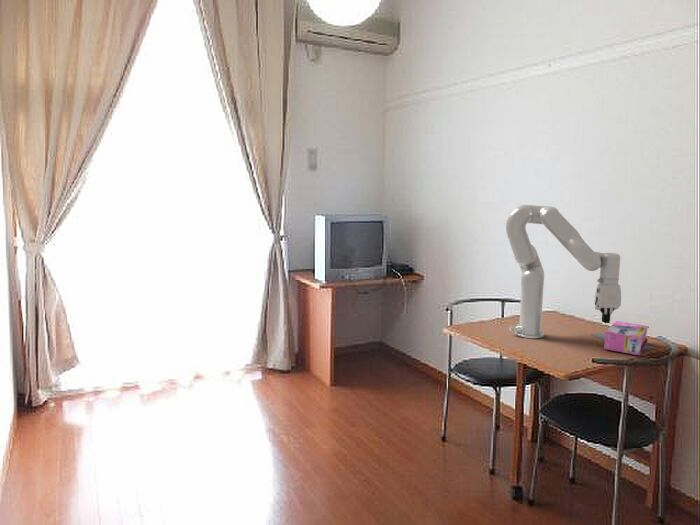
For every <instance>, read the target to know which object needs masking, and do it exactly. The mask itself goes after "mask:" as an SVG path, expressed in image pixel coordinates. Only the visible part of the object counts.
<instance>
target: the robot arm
mask: <svg viewBox="0 0 700 525" xmlns="http://www.w3.org/2000/svg"><path fill="white" fill-rule="evenodd" d="M505 222H506V223H505V231H506V235H507V238H508V241H509V245H510V247H511V250H512V253H513V256H514V260H515V261H516V263H517V264H518V265H519V268H520V271H521V273H522V274H521V278H520V281H521V283H520V304H519V305H520V307H519V308H520V309H519V323H517V324H516V325H515V326H509V328H508V330H509V331H510V332H515V335H516V336H519V337H521V338H524V339H541V338H544V337H545V332H543V331H542V320H543V319H542V318H543V316H542V314H543V299H544V298H543V297H544V286H545V285H544V284H545V271H544V268H543V265H542V262H541V260H540V257H539V254H538V251H537V249H536V247H535V246H534V245H533V244H531V241H530V239H529V235H528V233H527V229H526V227H527V224H536V225H543V226H544V227H545V228H546V229H547V230H548V231H549V232H550V233H551V235H552V236H554V237H555V239H557V241H558V242H559V243H560V244H561V246H563V247H564V248H565V249H566V250H567V251H568V252H569V253H570V254H571V256H572V257H573V258H574V259H576V260H577V262H578V263H579V264H580V265H581V266H582V268H584V269H585V270H587V271H589V272H594V271H598V270H599V269H600V270H599V278H598V279H597V287H596V290H595V295H594V310H597V311H600V313H601V322H602V323H605V324H610V323H611V322H610V321H611V315H612V314H613V312H614V311H617V310H618V309H619V308H620V307H621V305H622V304H621V303H622V289H621V285H620V284H619V280H620V279H619V278H620V267H621V256H620V254H618V253H615V252H599V251H594V250H593V249H592V248H591V247H590V246H589V244H588V243H586V241H585V240H584V239H583V238H582V236H581V234H580V233H579V231H578V230H577V229H576V228H575V227H574V226H573V224H571V223H570V222H569V221H568V220H567V219H566V218H565V217H564V216H563V214H562V213H561V212H560V211H559V210H558V209H557V208H556V207H555V206H550V205H548V206H547V205H546V206H545V205H532V204H521V205H519V206H517V207H516V208H514V209H513V210H512V212H510V214H509V215H508V217H507V219H506V221H505Z"/></svg>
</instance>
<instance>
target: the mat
mask: <svg viewBox="0 0 700 525" xmlns="http://www.w3.org/2000/svg"><path fill="white" fill-rule="evenodd" d="M605 334H606V332H598V333H597V332H596V333H590V335H591V336H593V337H596V338H598V339H600V340H602V341H603V342H605ZM655 349H656V348H655V347H653V346H651V345H648V343H647V344H646V345H645V347H644V349H643V350H642V351H644V350H655Z"/></svg>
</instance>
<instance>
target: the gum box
mask: <svg viewBox="0 0 700 525" xmlns="http://www.w3.org/2000/svg"><path fill="white" fill-rule="evenodd" d="M649 328H650V327H649V325H644V324H638V323H632V322H625V321H618V320H615V321H614V322H613V323H612V324H611V326H609V327H608V329H606V331H605V333H606V334H605V341H604V348H603V350H606V351H614V352H619V353H623V354H629V355H635V356H640V355H641V354H642V352H643V351H644V350H645V349H644V347H645V345H646V344H647V345H648V341H649V340H648V338H647V334H648V329H649ZM643 349H644V350H643Z"/></svg>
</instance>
